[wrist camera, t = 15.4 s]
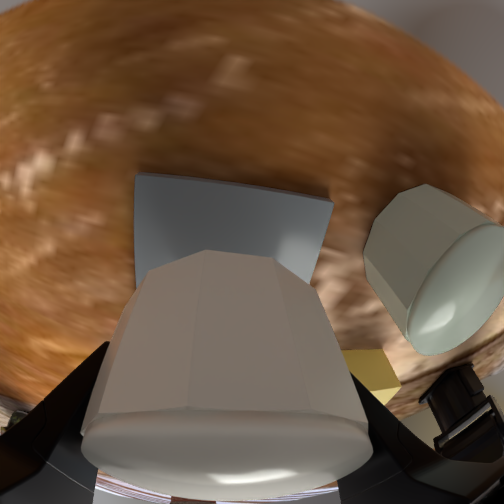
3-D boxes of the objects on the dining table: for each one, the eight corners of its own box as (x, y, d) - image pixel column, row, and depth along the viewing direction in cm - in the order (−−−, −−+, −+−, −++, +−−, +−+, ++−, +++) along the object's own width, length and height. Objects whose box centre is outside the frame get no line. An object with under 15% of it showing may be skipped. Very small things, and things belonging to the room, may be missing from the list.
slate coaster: (285, 335, 17) (287, 342, 16) (142, 320, 16) (140, 327, 15) (330, 198, 13) (334, 202, 12) (139, 172, 11) (135, 174, 11)
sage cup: (429, 296, 17) (469, 348, 12) (346, 292, 16) (384, 362, 11) (470, 202, 13) (529, 241, 8) (389, 170, 12) (462, 211, 7)
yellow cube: (360, 378, 21) (374, 415, 17) (320, 380, 20) (332, 421, 17) (382, 348, 19) (401, 386, 15) (339, 349, 18) (356, 393, 15)
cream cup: (291, 393, 12) (311, 494, 7) (137, 381, 11) (118, 486, 6) (351, 266, 9) (434, 408, 4) (118, 238, 8) (26, 391, 3)
